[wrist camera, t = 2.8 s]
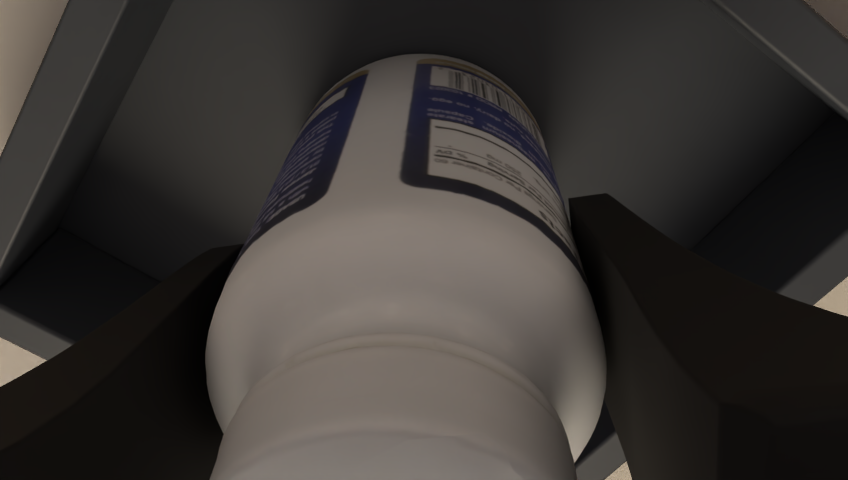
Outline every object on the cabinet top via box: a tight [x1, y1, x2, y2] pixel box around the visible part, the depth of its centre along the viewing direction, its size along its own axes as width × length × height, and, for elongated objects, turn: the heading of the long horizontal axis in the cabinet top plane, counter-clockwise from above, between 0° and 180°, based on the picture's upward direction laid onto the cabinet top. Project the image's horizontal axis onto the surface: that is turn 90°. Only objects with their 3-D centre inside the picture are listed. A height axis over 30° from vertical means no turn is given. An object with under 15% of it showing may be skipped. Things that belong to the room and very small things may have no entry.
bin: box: [0, 0, 848, 480], centre depth 15 cm, size 14×14×3 cm
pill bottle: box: [205, 54, 607, 480], centre depth 11 cm, size 5×5×10 cm
